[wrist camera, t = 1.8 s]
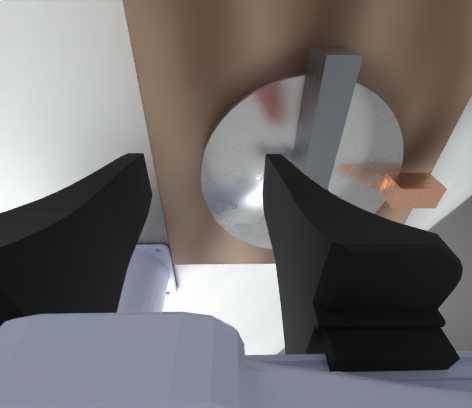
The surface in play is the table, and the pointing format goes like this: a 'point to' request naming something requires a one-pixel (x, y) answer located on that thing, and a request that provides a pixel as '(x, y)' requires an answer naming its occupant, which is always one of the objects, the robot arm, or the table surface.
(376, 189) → the flange plate
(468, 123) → the table surface
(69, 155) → the table surface
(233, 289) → the table surface
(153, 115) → the base board
